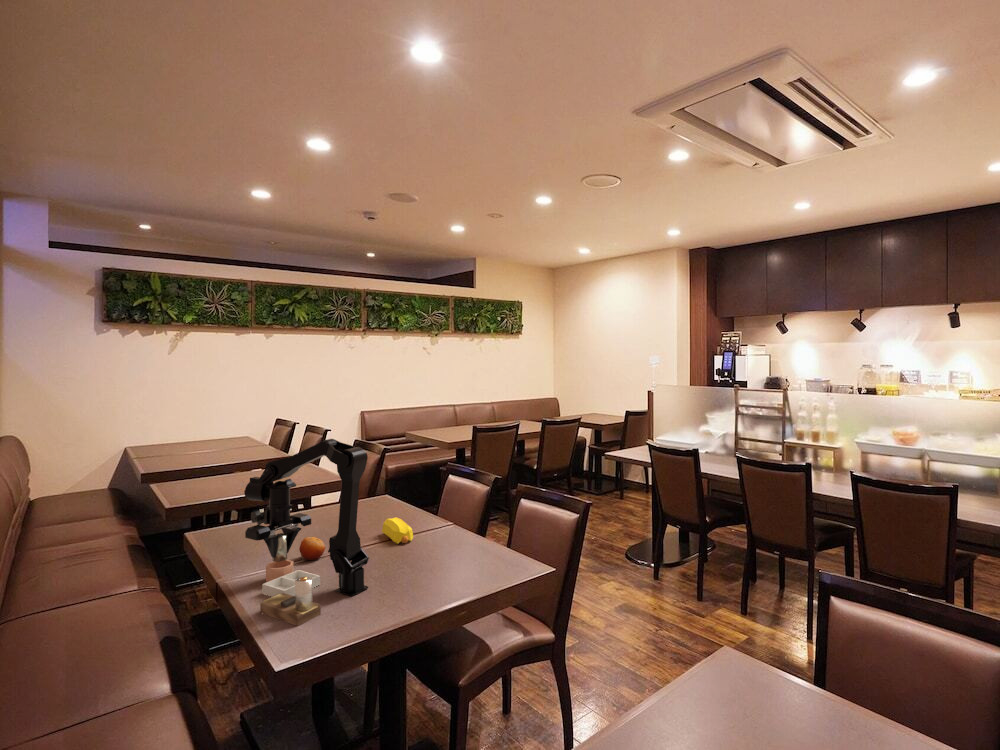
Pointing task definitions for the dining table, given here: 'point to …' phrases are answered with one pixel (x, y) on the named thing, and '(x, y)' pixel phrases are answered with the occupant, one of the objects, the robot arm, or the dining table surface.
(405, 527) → the yellow lump
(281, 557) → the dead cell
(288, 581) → the trough tray
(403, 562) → the dining table surface
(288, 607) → the cradle
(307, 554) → the fruit
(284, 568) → the cup
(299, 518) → the robot arm
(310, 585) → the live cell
